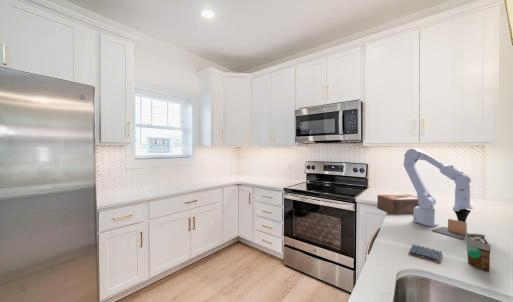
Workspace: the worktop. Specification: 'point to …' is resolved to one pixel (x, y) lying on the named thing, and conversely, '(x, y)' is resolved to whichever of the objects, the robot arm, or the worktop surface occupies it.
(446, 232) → the mat
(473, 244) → the food container
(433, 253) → the spiky blue-grey pad
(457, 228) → the tile
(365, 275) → the worktop surface
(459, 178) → the robot arm
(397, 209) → the tissue box cover
